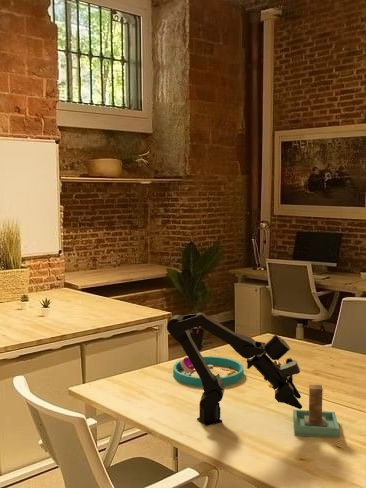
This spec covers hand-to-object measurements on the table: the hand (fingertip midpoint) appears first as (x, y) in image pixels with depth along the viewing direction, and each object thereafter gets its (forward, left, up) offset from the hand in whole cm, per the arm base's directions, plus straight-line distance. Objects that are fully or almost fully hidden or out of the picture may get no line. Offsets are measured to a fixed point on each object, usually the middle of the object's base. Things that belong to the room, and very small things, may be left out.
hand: (300, 402), depth 190 cm
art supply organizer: (+3, +60, -9) cm, 61 cm away
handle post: (+4, -3, -7) cm, 9 cm away
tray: (+4, -3, -8) cm, 10 cm away
